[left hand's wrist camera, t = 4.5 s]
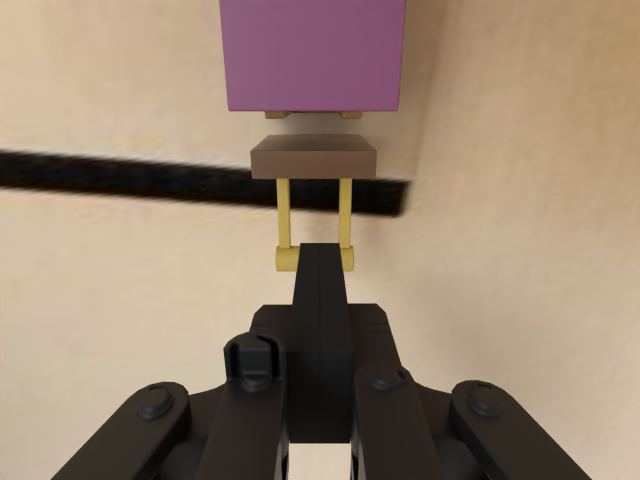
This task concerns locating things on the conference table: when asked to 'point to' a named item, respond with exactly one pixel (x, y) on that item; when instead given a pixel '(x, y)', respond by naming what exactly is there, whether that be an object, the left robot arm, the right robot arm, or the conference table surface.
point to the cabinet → (312, 54)
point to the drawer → (313, 176)
